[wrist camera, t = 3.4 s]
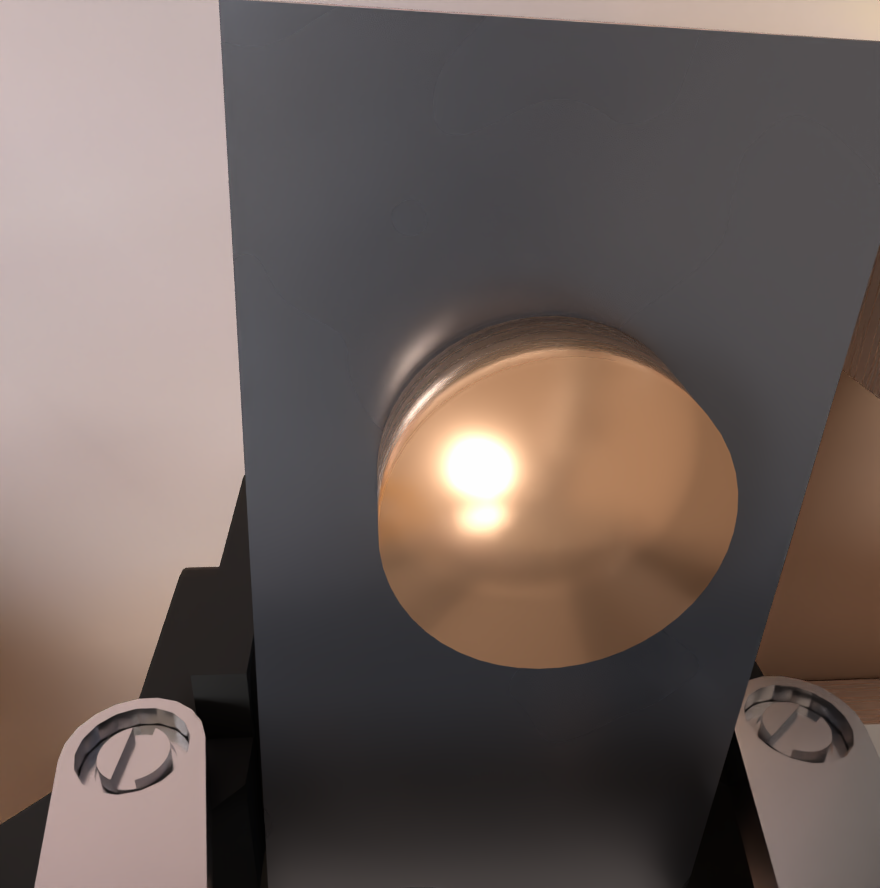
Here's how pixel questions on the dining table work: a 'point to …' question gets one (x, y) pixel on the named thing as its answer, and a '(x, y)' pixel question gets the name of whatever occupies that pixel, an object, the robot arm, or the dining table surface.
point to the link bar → (526, 419)
